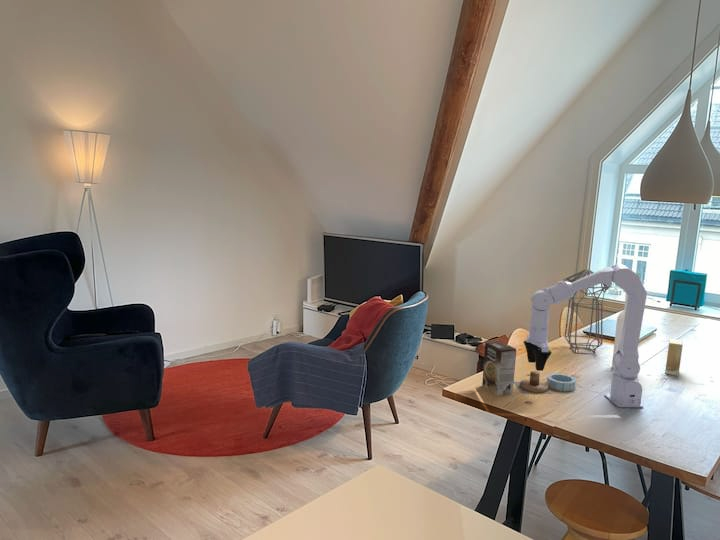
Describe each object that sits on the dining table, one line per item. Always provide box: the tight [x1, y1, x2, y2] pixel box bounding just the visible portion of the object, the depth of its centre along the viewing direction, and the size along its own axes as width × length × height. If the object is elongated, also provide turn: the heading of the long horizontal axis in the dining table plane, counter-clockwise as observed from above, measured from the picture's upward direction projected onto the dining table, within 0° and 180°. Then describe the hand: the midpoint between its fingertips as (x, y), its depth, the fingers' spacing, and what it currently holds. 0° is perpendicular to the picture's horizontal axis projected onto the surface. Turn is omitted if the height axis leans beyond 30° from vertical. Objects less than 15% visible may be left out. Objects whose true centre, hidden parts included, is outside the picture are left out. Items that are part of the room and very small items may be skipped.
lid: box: [519, 370, 549, 393], centre depth 175 cm, size 9×9×5 cm
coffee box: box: [481, 340, 517, 396], centre depth 172 cm, size 9×6×16 cm
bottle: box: [611, 292, 628, 370], centre depth 195 cm, size 8×8×30 cm
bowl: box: [546, 372, 577, 392], centre depth 177 cm, size 9×9×4 cm
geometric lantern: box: [563, 269, 613, 355], centre depth 216 cm, size 16×16×35 cm
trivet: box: [513, 381, 553, 395], centre depth 175 cm, size 10×10×1 cm
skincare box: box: [664, 338, 684, 377], centre depth 194 cm, size 6×4×12 cm
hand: (535, 366), depth 174 cm, fingers open, 7 cm apart
